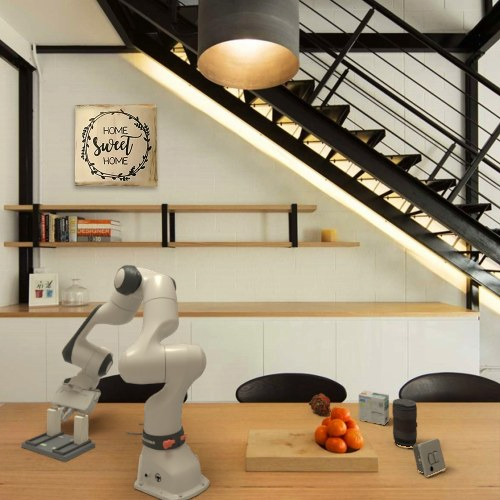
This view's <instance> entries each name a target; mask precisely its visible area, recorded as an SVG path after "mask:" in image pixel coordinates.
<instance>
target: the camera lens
mask: <svg viewBox="0 0 500 500" xmlns="http://www.w3.org/2000/svg"><path fill="white" fill-rule="evenodd" d="M391 405H392V435H393V440H394V444H395V443H396V444H398V445H401V446H406V447H410V446H413V445H416V443H417V436H418V431H417V428H418V422H417V418H418V407H417V402H416V401H414V400H412V399H408V398H396V399H393V401H392V404H391Z"/></svg>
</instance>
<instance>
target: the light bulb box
mask: <svg viewBox="0 0 500 500" xmlns="http://www.w3.org/2000/svg"><path fill="white" fill-rule="evenodd" d="M389 399H390V396H389V394H387V393H386V394H385V393H382V392H374V391H368V390H363V391H360V393H358V421H359V420H364V421H369V422H375V423H379V424H384V425H385V424H386V423H387V422H388V423H389V421H390V400H389ZM388 420H389V421H388ZM364 421H363V422H364ZM388 423H387V424H388ZM387 424H386V425H387ZM386 425H385V426H386Z"/></svg>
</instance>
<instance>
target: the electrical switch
mask: <svg viewBox="0 0 500 500" xmlns="http://www.w3.org/2000/svg"><path fill="white" fill-rule="evenodd" d="M412 447H413V448H412V450H413V455H414V459H415V463H416V469H417V471H418V470H419V471H421V472H423V473H424V474H423V475H426V476H428V475H431V474H433V473H435V472H438V471H440V470H442V469H444V468H446V469H447V466H446V462H445V459H444V454H443V451H442V446H441V442H440V439H439V438H435V437H434V438H433V439H430V440H429V439H428V440H426V441H425V440H424V441H422V442H419V443H418V444H416V443H415V445H413V446H412Z"/></svg>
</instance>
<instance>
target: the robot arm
mask: <svg viewBox="0 0 500 500" xmlns="http://www.w3.org/2000/svg"><path fill="white" fill-rule="evenodd" d="M113 282H114V283H113V285H114V286H113V287H114V290H113V292H112V294H111V296H110V297H109V299H108V301H106V302H105V303H103V304H99V305H97V306H96V307H95V308H94V309H93V310H92V311H91V312H90V313H89V314H88V316H87V317H86V318H85V320H84V321H83V322H82V324H81V325H80V326H79V328H78V329H77V330H76V332H75V333H74V334H73V336H72V337H71V338H70V339H69V340H68V341H67V342H66V343H65V345H63V348H62V350H61V355H62V358H63V360H64V362H66V363H68V364H71V365H74V366H76V367H78V368H80V369H81V370H80V371H78V373H77V374H76V376H75V375H74V376H70V377H65V378H63V380H62V381H61V385H59V386H57V388H56V389H55V391H54V392H53V394H52V395H51V397H50V399H49V403H50V404H51V406H53V407H57V408H60V409H61V422H64V423H65V422H67V420H68V418H70V417H72V416H73V415H74V414H75V412H77V413H81V414H85V415H88V416H89V415H91V414H92V413H94V409H95V408H96V406H97V404H98V401H99V398H100V396H101V394H102V393H101V390H100V389H99V388H97V386H98V385H99V383H100V380H101V379H102V378H103V377H104V376H106V375H107V374H108V372H109V371H110V369H111V367H112V366H113V364H114V359H113V358H114V353H113V351H112V350H111V349H109V348H108V347H106V346H98V345H96V344H94V343H93V342H90V341H89V340H88V339H87V337H88V336H89V334H90V333H91V331H92V330H93V328H94V327H95V326H97V325H111V326H124V325H126V324H128V323H130V322H132V320H133V319H134V318H135V316H136V315H137V313H138V311H139V309H140V307H141V304H142V314H143V315H142V327H141V331H140V334H139V336H138V338H137V339H136V340H135V342H134V343H132V344H131V345H130V346H129V347H128V348H126V349H125V350H124V351H123V353H122V354H121V356H120V358H119V361H118V366H117V367H118V372H119V376H120V377H121V378H122V380H123V382H125V383H127V384H135V385H148V384H162V383H165V384H164V386H163V387H162V389H160V390H159V391H158V392H156V393H154V394H152V395H151V396H150V397H149V398H148V399H147V400H146V401H145V403H144V407H143V408H144V410H143V424H144V425H143V428H142V432H141V433H142V435H141V444H142V445H143V446H142V449H141V452H140V454H139V459H138V465H137V466H138V468H137V477H136V478H137V479H136V480H135V482H134V484H133V488H134V489H135V490H138V491H140V492H143V493H145V494H147V495H150V496H152V497H155V498H157V499H159V500H190V499H191V498H194V497H195V496H198V495H200V494H201V493H203V492H204V491H206V490H207V488H208V487H209V486H210V480H209V479H208V478H207V477H206V476H205V475H203V474H202V469H201V462H200V460H199V456H198V454H196V453H193V451H192V449H191V448H190V446H189V445H188V444H187V442H186V440H187V439H188V434H185V430H184V428H183V427H184V426H183V425H182V423H183V422H182V419H183V407H184V400H185V397H186V395H187V392H188V391H189V389H190V387H191V386H192V385H193V384H194V383H195V381H197V380H198V379H199V378H200V377H201V376H202V375H203V374H204V372H205V369H206V367H207V356H206V353H205V351H204V350H203V348H202V347H201V346H200V345H196V344H189V343H173V344H170V343H169V344H163V343H161V342H162V341H163V340H165V339H166V338H168V337H170V336H171V335H174V333H176V331H178V328H179V327H180V320H179V317H180V316H179V306H178V297H177V292H176V291H177V284H176V281H175V279H174V278H173V277H171V276H169V275H167V274H162V273H160V272H158V271H154V270H152V269H148V268H145V267H139V266H136V265H131V264H130V265H129V264H125V265H123V266H121V267H120V268H119V269H117V272H116V274H115V277H114V281H113Z"/></svg>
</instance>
